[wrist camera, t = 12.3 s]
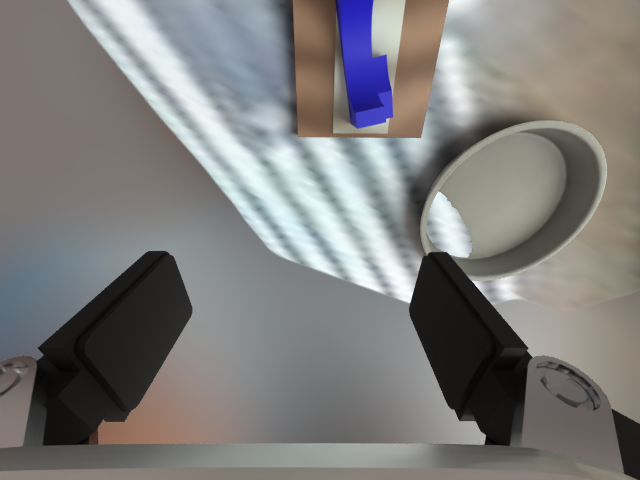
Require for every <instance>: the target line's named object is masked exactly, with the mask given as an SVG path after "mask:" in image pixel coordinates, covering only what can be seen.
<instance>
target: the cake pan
mask: <svg viewBox="0 0 640 480" xmlns="http://www.w3.org/2000/svg"><path fill="white" fill-rule="evenodd" d="M606 177H607V165H606V158H605V155H604V152H603V150H602V148H601V146H600V144H599V143H598V141H597V140H596V139H595V138H594V136H592V135H591V134H590V133H589V132H588V131H586V130H585V129H583V128H581V127H580V126H578V125H575V124H572V123H568V122H565V121H560V120H537V121H530V122H526V123H521V124H517V125H514V126H511V127H508V128H506V129H503V130H501V131H498V132H496V133H494V134H492V135H490V136H488V137H486V138H485V139H483V140H481V141H479V142H477V143H475V144H473V145H472V146H470V147H468V148H467V149H465V150H464V151H462V152H461V153H460V154H458V155H457V156H456V157H455V158H454V159H453V160H451V161H450V162H449V163H448V164H447V165H446V166H445V168H444V169H443V170H442V171H441V172H440V174H439V175H438V176H437V178H436V179H435V181H434V182H433V184H432V186H431V188H430V190H429V192H428V194H427V197H426V200H425V203H424V207H423V212H422V216H421V223H420V237H421V242H422V246H423V249H424V251H425V253H426V255H428V253H429V252H443V251H441V250H440V249H438V248H437V247H436V246H435V245H434V243H432V242H431V240H430V239H429V237H428V235H427V232H426V223H427V217H428V213H429V210H430V207H431V204H432V202H433V200H434V198H435V196H436V194H437V192H438V191H439V192H441V193H442V194H443V195H445V196H446V197H447V200H448V201H450V202H451V205H452V207H454V208H456V209H457V210H458V212H459V214H460V215H461V217H462V219H463V221H464V223H465V225H466V227H467V229H468V231H469V233H470V235H471V241H470V242H472V253H470V256H469V257H468V258H461V257H455V256H452V255H450V256H451V257H452V258H453V260H454V261H455V262H456V263H457V264H458V266H459V267H460V268H461V269H462V270H463V271H464V273H465V274H466V275H467V276H468V277H469V279H470V280H473V281H484V280H494V279H500V278H504V277H508V276H512V275H515V274H518V273H520V272H523V271H525V270H528V269H530V268H532V267H534V266H536V265H538V264H540V263H542V262H543V261H545V260H547V259H548V258H550V257H551V256H553V255H554V254H555V253H557V252H558V251H559V250H561V249H562V248H563V247H564V246H566V245H567V244H568V243H569V242H570V241H571V240H572V239H573V238H574V237H575V236H576V235H577V234H578V233H579V232H580V231H581V230H582V228H583V227H584V226H585V225H586V223H587V222H588V221H589V219H590V218H591V216H592V215H593V213H594V211H595V210H596V208H597V206H598V204H599V202H600V199H601V197H602V194H603V191H604V188H605V183H606Z"/></svg>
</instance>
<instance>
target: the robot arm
mask: <svg viewBox="0 0 640 480" xmlns="http://www.w3.org/2000/svg"><path fill="white" fill-rule="evenodd" d="M409 313H410V317H411V320H412V322H413V324H414V327H415V329H416V331H417V334H418V336H419V338H420V341H421V343H422V346H423V348H424V350H425V353H426V355H427V357H428V360H429V362H430V364H431V367H432V369H433V371H434V374H435V376H436V378H437V381H438V383H439V386H440V388H441V390H442V393H443V395H444V398H445V400H446V402H447V404H448V406H449V407H450V408H451V409H454V410H455V412H456V414H457V417H458V419H459V421H476V422H477V425H478V427H479V429H480V431H481V432H482V433H481V437H480V442H479V445H461V444H327V443H323V444H320V443H317V444H109V445H108V444H107V445H106V444H104V445H99V444H98V426H99V425H100V423H101V422H102V420H103V419H104V420H105V421H106V422H124V421H125V420H126V418H127V416H128V415H129V413H130V411H131V410H133V409H134V408H136V407H137V406H138V404H139V403H140V401H141V400H142V398H143V396H144V395H145V393H146V391H147V389H148V388H149V386H150V384H151V383H152V381H153V379H154V378H155V376H156V374H157V373H158V371H159V369H160V367H161V366H162V364H163V363H164V361H165V359H166V357H167V356H168V354H169V352H170V351H171V349H172V347H173V345H174V344H175V342H176V341H177V339H178V337H179V335H180V334H181V332H182V330H183V329H184V327H185V325H186V324H187V322H188V320H189V319H190V317H191V315H192V306H191V303H190V300H189V297H188V294H187V291H186V289H185V286H184V283H183V280H182V278H181V275H180V272H179V270H178V267H177V264H176V261H175V259H174V257H173V256H172V255H170V254H169V253H168V252H166V251H148V252H146V253H145V254H144V255H143V256H142V257H141V258H140V259H138V260H137V261H136V262H135V263H134V264H133V265H132V266H130V267H129V268H128V269H127V270H126V271H125V272H124V273H122V274H121V275H120V276H119V277H118V278H117V279H116V280H114V281H113V282H112V283H111V284H110V285H109V286H108V287H106V288H105V289H104V290H103V291H102V292H101V293H100V294H98V295H97V296H96V297H95V298H94V299H93V300H92V301H91V302H89V303H88V304H87V305H86V306H85V307H84V308H83V309H81V310H80V311H79V312H78V313H77V314H76V315H75V316H73V317H72V318H71V319H70V320H69V321H68V322H67V323H66V324H64V325H63V326H62V327H61V328H60V329H59V330H58V331H56V332H55V333H54V334H53V335H52V336H51V337H50V338H48V339H47V340H46V341H45V342H44V343H43V344H42V345H41V346H40V347H38V349H39V350H40V351H41V352H42V353H43V354H44V356H43V357H42V358H40V359H39V360H38V361H37V360H36V359H35V358H33V357H32V356H18V357H13V358H10V359H7V360H4V361H1V362H0V480H640V424H639V423H637V422H635V421H633V420H631V419H629V418H628V417H626V416H624V415H622V414H620V413H618V412H617V411H615V410H613V409H611V405H610V403H609V400H608V398H607V396H606V395H605V393H604V392H603V391H602V389H601V388H600V387H599V386H598V385H597V384H596V383H595V382H594V381H593V380H592V379H591V378H590V377H589V376H587V375H586V374H584V373H583V372H582V371H580V370H579V369H578V368H576V367H574V366H572V365H570V364H569V363H567V362H564V361H562V360H559V359H557V358H554V357H549V356H536V357H534V358H533V357H532V356H531V355H530V354H529V353H528V352H527V349H528V347H527V346H526V345H525V344H524V342H523V341H522V340H521V339H520V338H519V336H518V335H517V334H516V333H515V332H514V331H513V329H512V328H511V327H510V326H509V325H508V323H507V322H506V321H505V320H504V319H503V318H502V316H501V315H500V314H499V313H498V312H497V311H496V309H495V308H494V307H493V306H492V305H491V303H490V302H489V301H488V300H487V299H486V297H485V296H484V295H483V294H482V293H481V292H480V290H479V289H478V288H477V287H476V286H475V284H474V283H473V282H472V281H471V280H470V279H469V277H468V276H467V275H466V274H465V273H464V271H463V270H462V269H461V268H460V267H459V266H458V264H457V263H456V262H455V261H454V260H453V258H452V257H451V256H450V255H449V254H448V253H447V252H429V253H428V255H427V256H424V257H423V259H422V262H421V266H420V270H419V274H418V277H417V281H416V285H415V288H414V292H413V296H412V299H411V303H410V307H409Z"/></svg>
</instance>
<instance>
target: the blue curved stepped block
mask: <svg viewBox="0 0 640 480" xmlns="http://www.w3.org/2000/svg"><path fill="white" fill-rule="evenodd" d="M373 1H374V0H335V4H336V11H337V19H338V27H339V35H340V43H341V51H342V59H343V67H344V75H345V83H346V90H347V98H348V106H349V114H350V122H351V125H353V126H354V127H355V128H357V129H359V128H364V127H368V126H373V125H377V124H382V123H386V119H388V118H393V101H392V88H391V85H390V80H389V74H388V65H387V54H386V55H382V56H378V57H374V58H372V10H373Z"/></svg>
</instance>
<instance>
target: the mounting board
mask: <svg viewBox="0 0 640 480" xmlns="http://www.w3.org/2000/svg"><path fill="white" fill-rule="evenodd" d="M448 2H449V0H374V1H373V10H372V58H374V57H378V56H382V55H386V54H387V65H388V74H389V80H390V85H391V88H392V101H393V118H388V119H386V123H382V124H377V125H373V126H368V127H364V128H359V129H357V128H355V127H354V126H353V125H351V122H350V114H349V106H348V98H347V90H346V83H345V75H344V67H343V59H342V51H341V43H340V35H339V27H338V19H337V11H336V4H335V0H293V18H294V45H295V72H296V99H297V125H298V137H377V138H421V135H422V130H423V125H424V120H425V115H426V111H427V106H428V101H429V96H430V91H431V86H432V81H433V76H434V71H435V66H436V61H437V56H438V52H439V47H440V42H441V37H442V32H443V27H444V22H445V17H446V12H447V7H448Z"/></svg>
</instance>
